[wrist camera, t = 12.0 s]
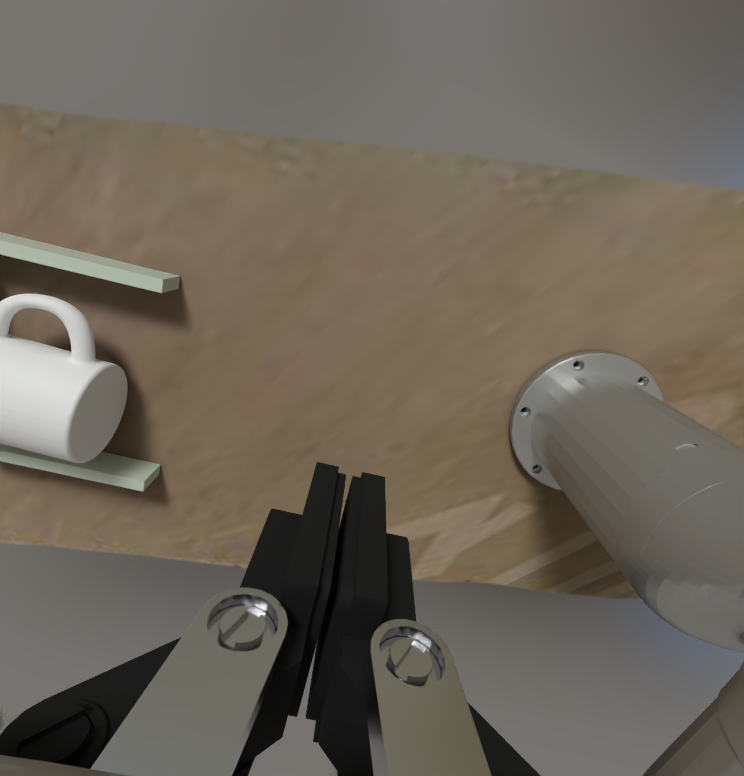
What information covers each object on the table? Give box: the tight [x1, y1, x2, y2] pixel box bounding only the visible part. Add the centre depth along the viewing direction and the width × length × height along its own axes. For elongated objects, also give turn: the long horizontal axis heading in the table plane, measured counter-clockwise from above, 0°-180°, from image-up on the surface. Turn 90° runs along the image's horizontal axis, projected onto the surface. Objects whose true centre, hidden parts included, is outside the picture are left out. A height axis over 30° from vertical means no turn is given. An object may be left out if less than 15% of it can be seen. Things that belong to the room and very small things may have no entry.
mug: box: [0, 294, 128, 463], centre depth 34 cm, size 12×10×8 cm
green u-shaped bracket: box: [0, 232, 180, 491], centre depth 37 cm, size 15×18×3 cm
